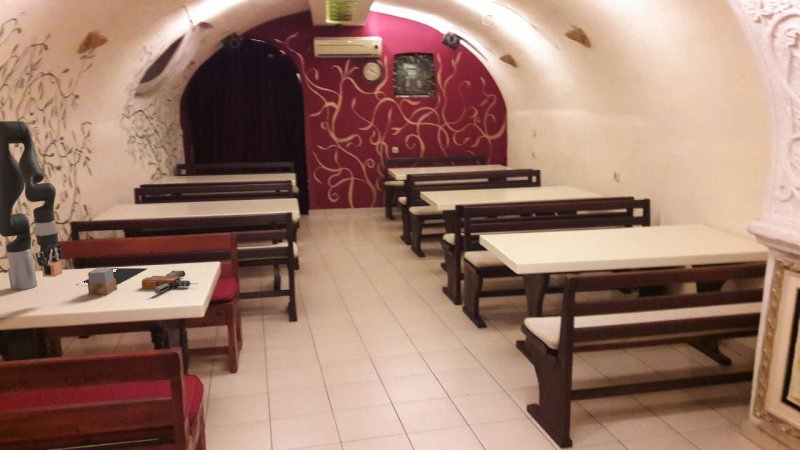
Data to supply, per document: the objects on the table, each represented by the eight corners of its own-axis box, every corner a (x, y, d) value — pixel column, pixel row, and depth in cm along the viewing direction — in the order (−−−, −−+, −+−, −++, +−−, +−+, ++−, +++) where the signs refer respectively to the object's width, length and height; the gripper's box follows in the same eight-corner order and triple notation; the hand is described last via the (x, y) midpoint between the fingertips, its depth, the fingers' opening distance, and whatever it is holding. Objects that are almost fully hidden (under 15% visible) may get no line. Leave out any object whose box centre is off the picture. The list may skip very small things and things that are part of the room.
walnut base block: (89, 296, 249) (87, 284, 248) (99, 290, 257) (97, 279, 256) (107, 295, 249) (105, 284, 248) (117, 289, 256) (115, 278, 255)
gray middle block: (89, 284, 248) (87, 272, 247) (97, 279, 255) (96, 268, 254) (106, 283, 248) (104, 272, 247) (113, 278, 255) (112, 267, 254)
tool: (165, 269, 275) (126, 285, 246) (219, 269, 271) (185, 286, 241) (166, 277, 276) (127, 295, 247) (220, 278, 271) (186, 296, 242)
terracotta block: (43, 276, 239) (41, 264, 238) (50, 273, 244) (49, 261, 243) (55, 276, 239) (53, 264, 238) (62, 273, 244) (60, 261, 243)
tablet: (110, 268, 290) (148, 268, 287) (110, 269, 290) (148, 269, 288) (74, 285, 264) (115, 285, 261) (74, 286, 264) (116, 287, 261)
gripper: (48, 228, 245) (54, 267, 248) (25, 236, 231) (32, 278, 234) (66, 228, 244) (71, 267, 248) (44, 236, 230) (50, 278, 234)
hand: (52, 272), depth 241 cm, fingers closed on terracotta block, 5 cm apart
